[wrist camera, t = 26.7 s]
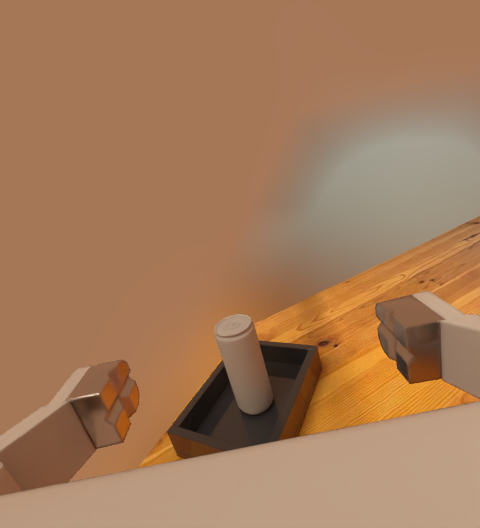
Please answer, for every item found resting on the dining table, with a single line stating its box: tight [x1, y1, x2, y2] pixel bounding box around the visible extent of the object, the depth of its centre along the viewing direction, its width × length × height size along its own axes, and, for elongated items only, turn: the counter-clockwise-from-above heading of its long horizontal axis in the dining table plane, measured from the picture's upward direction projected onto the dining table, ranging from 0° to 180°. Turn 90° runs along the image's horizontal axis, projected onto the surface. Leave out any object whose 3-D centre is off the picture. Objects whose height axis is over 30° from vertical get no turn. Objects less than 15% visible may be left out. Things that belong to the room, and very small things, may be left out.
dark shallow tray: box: [167, 341, 322, 459], centre depth 38 cm, size 18×13×4 cm
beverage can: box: [215, 314, 273, 415], centre depth 37 cm, size 5×5×12 cm
